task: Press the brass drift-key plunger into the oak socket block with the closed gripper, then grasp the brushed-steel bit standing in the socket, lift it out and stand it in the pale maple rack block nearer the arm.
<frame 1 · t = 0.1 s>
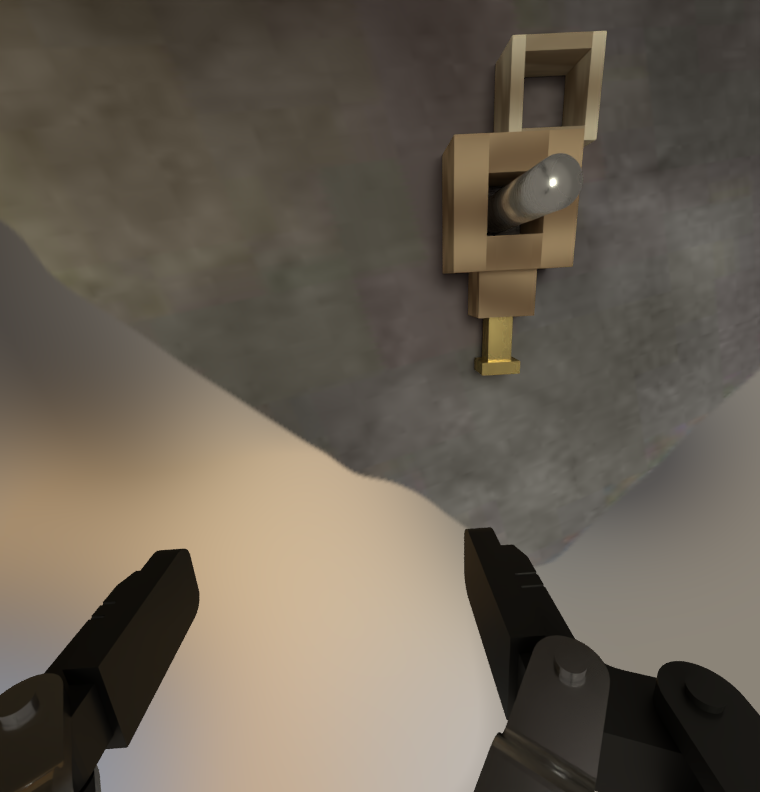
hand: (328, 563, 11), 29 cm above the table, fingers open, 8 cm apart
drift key: (497, 329, 37), point 2 cm above the table, slide at 0.0 cm
socket block: (496, 214, 36), on the table
rack: (534, 111, 33), on the table
steel bit: (521, 201, 30), in the socket block
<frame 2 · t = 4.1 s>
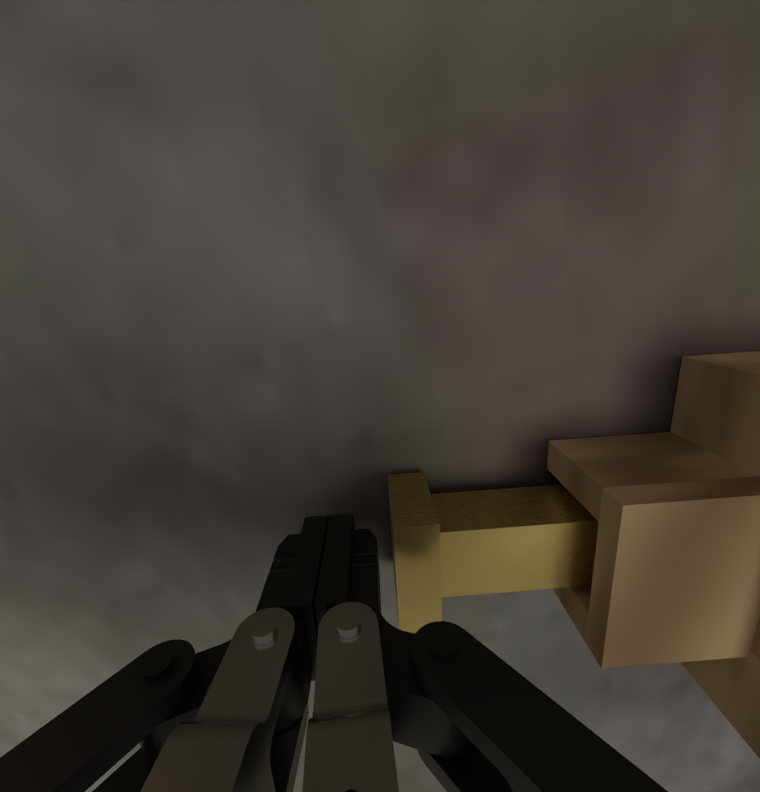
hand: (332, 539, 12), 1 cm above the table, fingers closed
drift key: (527, 540, 12), point 2 cm above the table, slide at 0.2 cm, touching gripper
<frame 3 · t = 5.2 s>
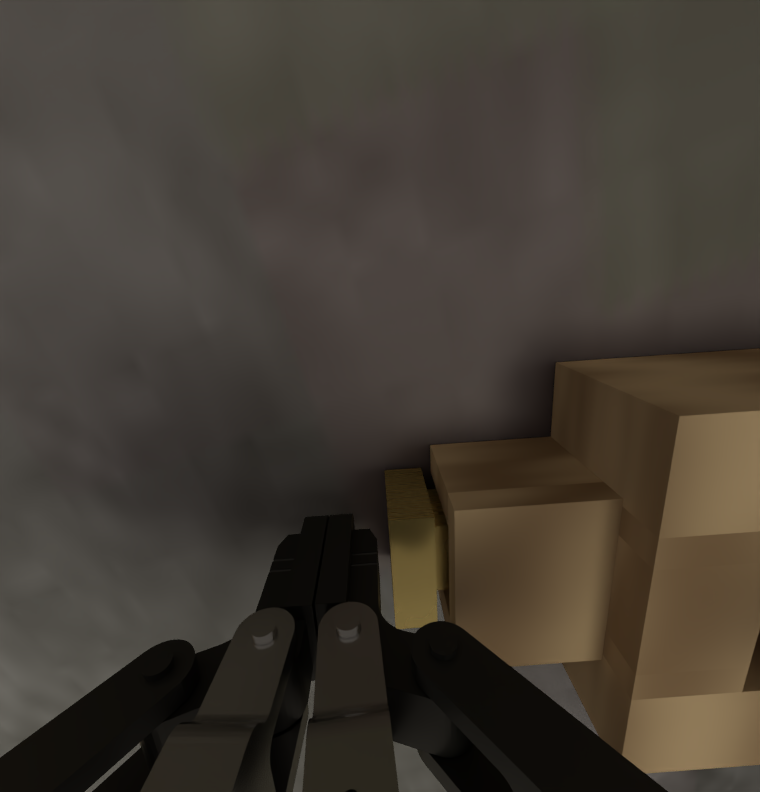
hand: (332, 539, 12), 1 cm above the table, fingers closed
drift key: (522, 534, 12), point 2 cm above the table, slide at 3.9 cm, touching gripper
socket block: (688, 492, 13), on the table
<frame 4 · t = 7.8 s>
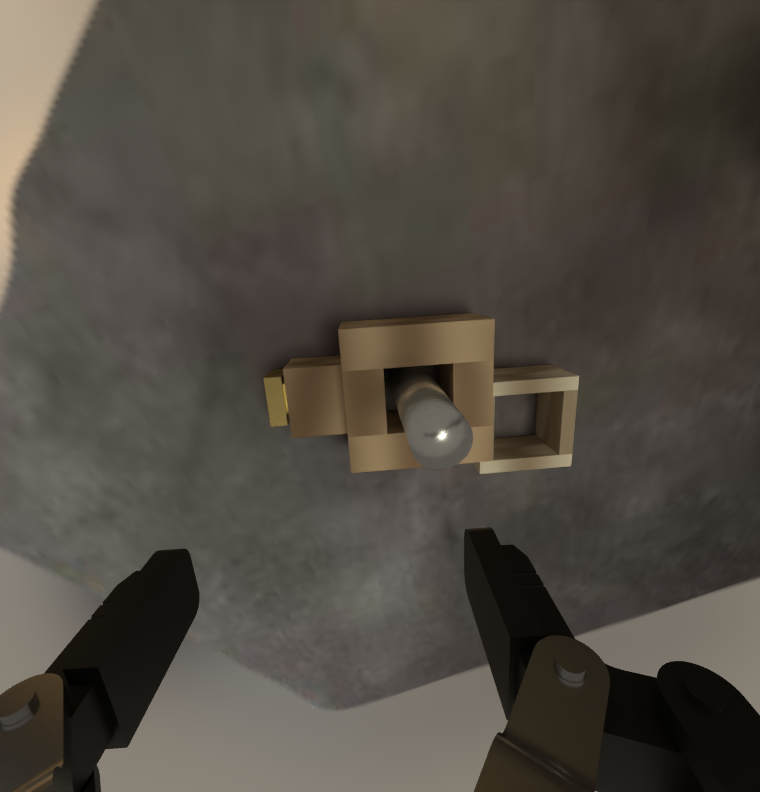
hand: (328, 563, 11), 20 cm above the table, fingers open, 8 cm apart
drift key: (326, 393, 29), point 2 cm above the table, slide at 3.9 cm
socket block: (409, 381, 31), on the table
rack: (507, 409, 32), on the table
steel bit: (421, 403, 25), in the socket block
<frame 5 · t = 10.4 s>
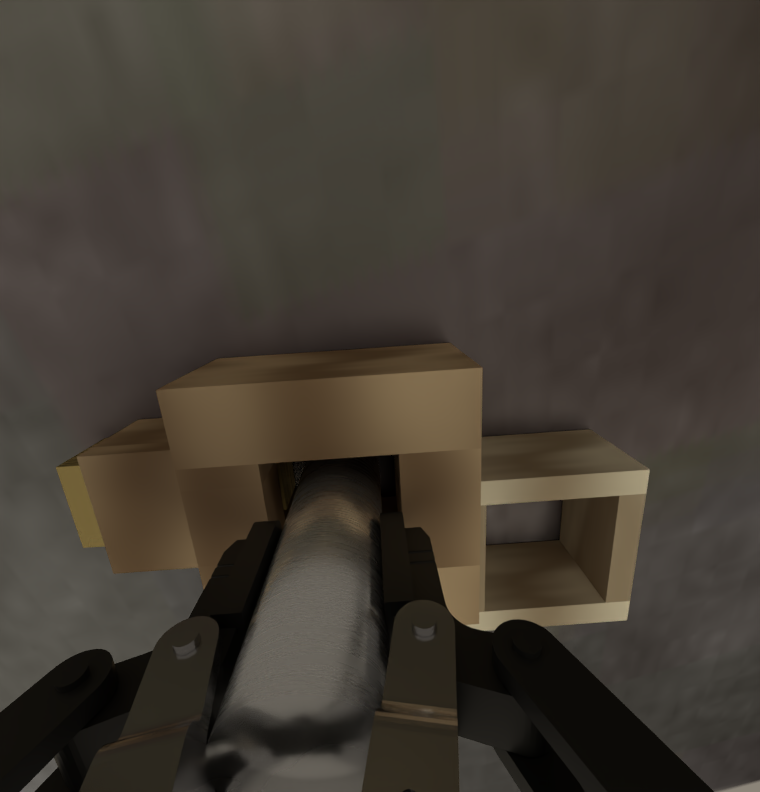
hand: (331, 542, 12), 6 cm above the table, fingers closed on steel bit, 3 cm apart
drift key: (190, 483, 16), point 2 cm above the table, slide at 3.9 cm
socket block: (344, 456, 18), on the table
rack: (512, 500, 19), on the table
steel bit: (333, 538, 12), in the socket block, touching gripper
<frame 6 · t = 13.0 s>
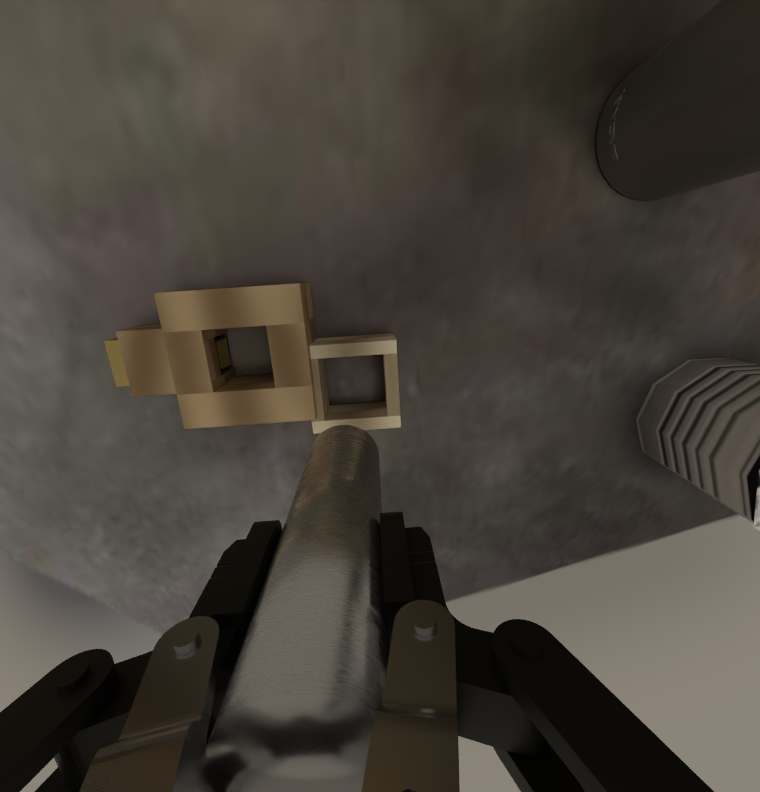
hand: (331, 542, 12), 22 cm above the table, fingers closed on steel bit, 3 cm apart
can: (693, 414, 36), on the table
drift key: (172, 357, 31), point 2 cm above the table, slide at 3.9 cm
socket block: (258, 348, 33), on the table
rack: (355, 376, 34), on the table
steel bit: (333, 538, 12), point 22 cm above the table, touching gripper
when the fingers open (8 cm above the table, at t = 15.8 s): steel bit drops 2 cm, resting in rack.
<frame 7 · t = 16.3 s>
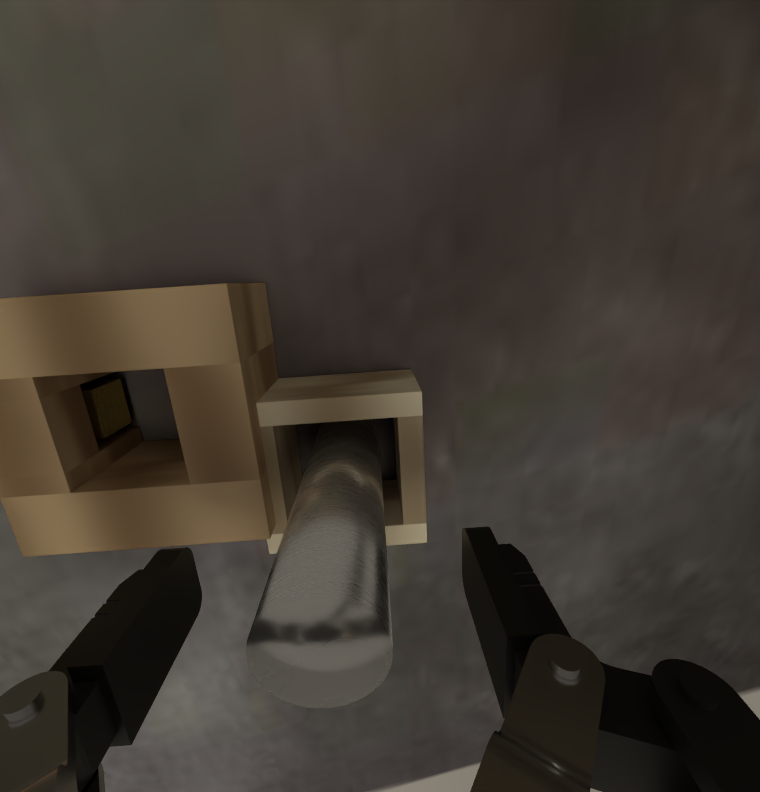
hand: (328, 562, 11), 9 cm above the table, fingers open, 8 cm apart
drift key: (19, 414, 17), point 2 cm above the table, slide at 3.9 cm
socket block: (178, 395, 19), on the table
rack: (346, 439, 20), on the table
steel bit: (339, 503, 14), in the rack
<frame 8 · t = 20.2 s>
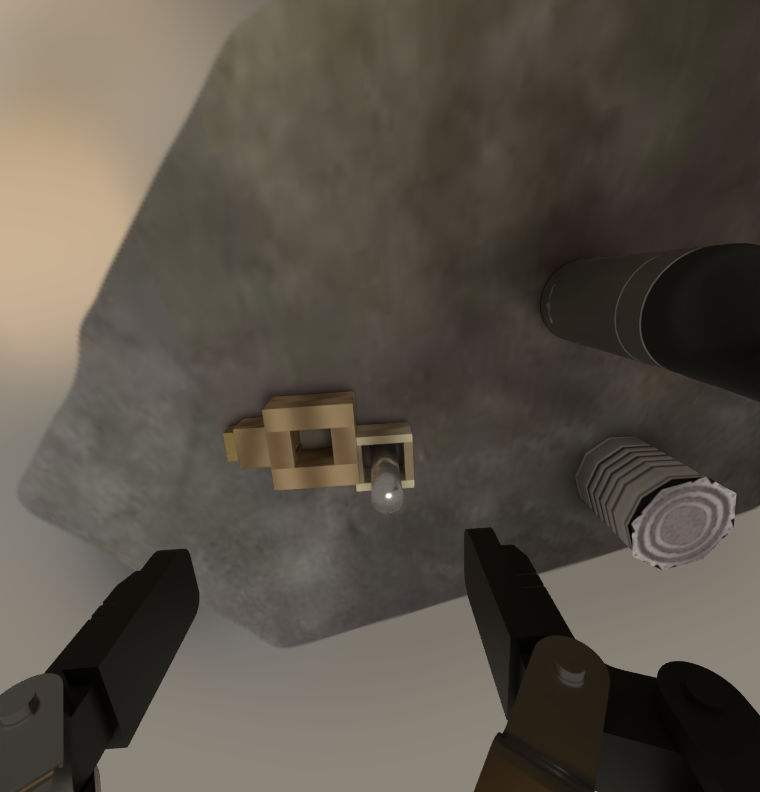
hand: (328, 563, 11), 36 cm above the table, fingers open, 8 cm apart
can: (615, 473, 52), on the table
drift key: (263, 440, 47), point 2 cm above the table, slide at 3.9 cm
socket block: (317, 431, 49), on the table
rack: (382, 449, 50), on the table
steel bit: (385, 470, 44), in the rack
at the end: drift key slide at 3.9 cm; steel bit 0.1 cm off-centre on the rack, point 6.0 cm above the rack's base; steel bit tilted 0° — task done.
